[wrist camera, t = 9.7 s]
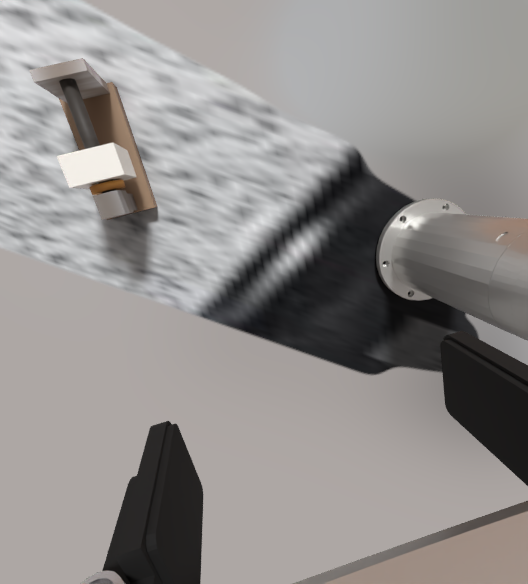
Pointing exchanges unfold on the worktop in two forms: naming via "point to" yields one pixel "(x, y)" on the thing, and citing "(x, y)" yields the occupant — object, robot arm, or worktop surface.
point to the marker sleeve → (96, 165)
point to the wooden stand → (99, 131)
